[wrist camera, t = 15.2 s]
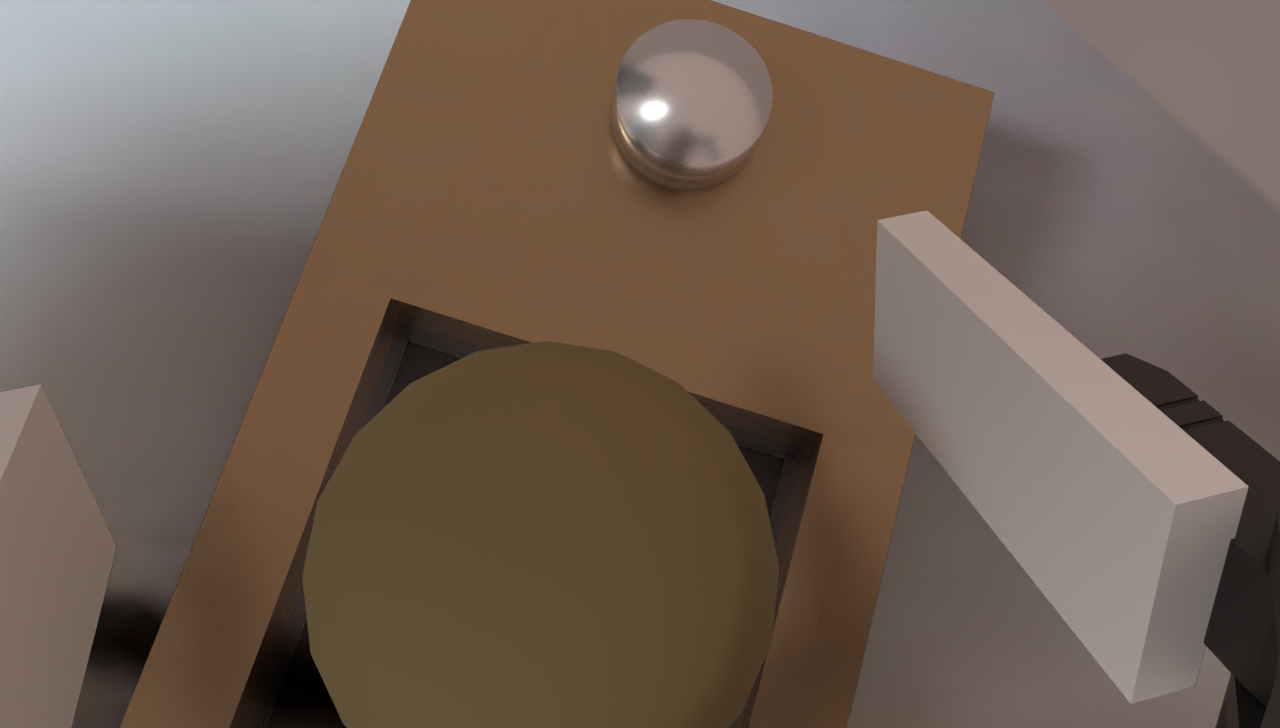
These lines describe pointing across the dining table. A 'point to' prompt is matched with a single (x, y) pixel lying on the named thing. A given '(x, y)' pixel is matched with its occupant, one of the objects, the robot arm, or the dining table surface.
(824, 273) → the slotted wooden plate
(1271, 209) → the dining table surface
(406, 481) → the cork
